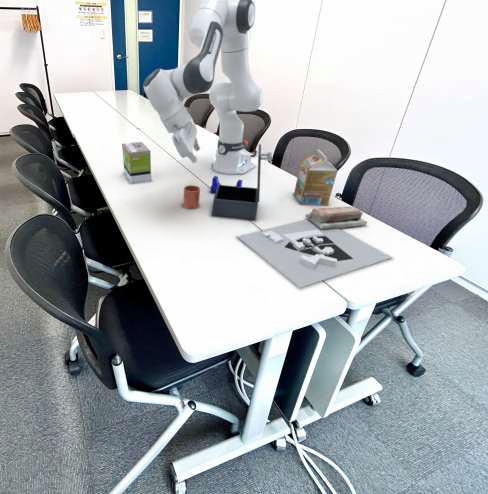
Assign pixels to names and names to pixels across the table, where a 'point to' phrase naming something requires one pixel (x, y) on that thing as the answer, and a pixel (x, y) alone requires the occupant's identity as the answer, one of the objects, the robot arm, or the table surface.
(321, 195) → the milk carton
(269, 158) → the lid
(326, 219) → the packaged product
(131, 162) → the tea box
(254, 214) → the dark grey open box
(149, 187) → the table surface
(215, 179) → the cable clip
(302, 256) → the architectural model
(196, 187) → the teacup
